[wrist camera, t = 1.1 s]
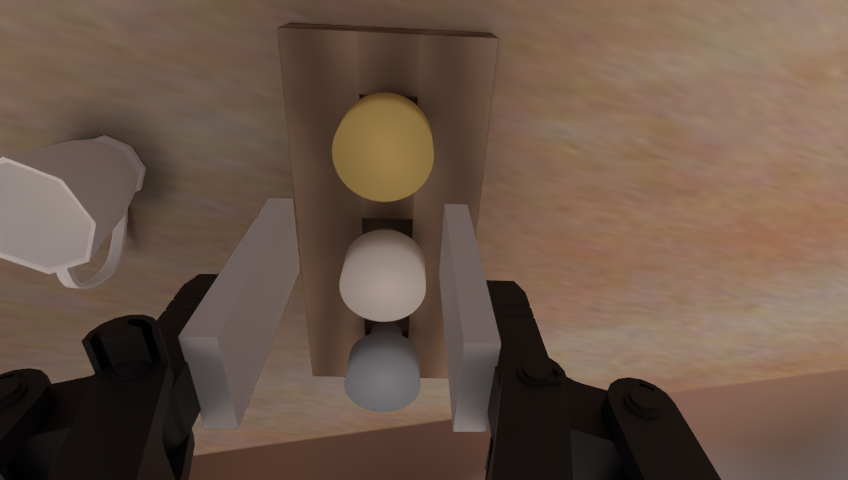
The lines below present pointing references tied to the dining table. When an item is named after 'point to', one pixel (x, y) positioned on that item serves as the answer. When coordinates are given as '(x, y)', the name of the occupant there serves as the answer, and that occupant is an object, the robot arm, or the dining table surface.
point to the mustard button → (383, 147)
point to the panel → (355, 215)
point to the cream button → (383, 275)
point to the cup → (68, 206)
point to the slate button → (383, 369)
